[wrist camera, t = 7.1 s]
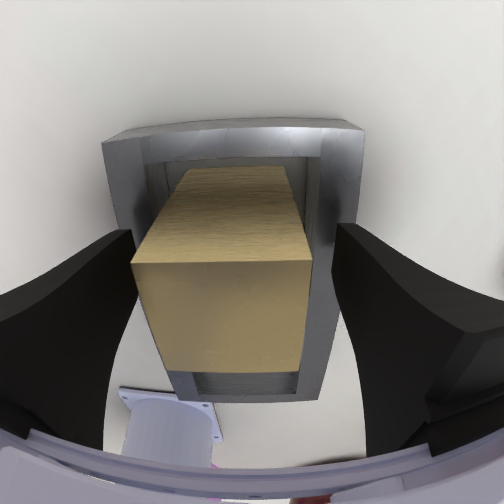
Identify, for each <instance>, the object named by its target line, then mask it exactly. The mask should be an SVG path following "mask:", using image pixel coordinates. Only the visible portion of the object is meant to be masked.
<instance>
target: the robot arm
mask: <svg viewBox="0 0 504 504" xmlns="http://www.w3.org/2000/svg"><path fill="white" fill-rule="evenodd" d="M136 252H137V250H136V246H135V242H134V238H133V234H132V230H131V229H122V230H115V231H113V232H111V233H109V234H107V235H105V236H103V237H102V238H100V239H98V240H97V241H95V242H94V243H92V244H90V245H89V246H87V247H86V248H84V249H83V250H81V251H80V252H78V253H77V254H75V255H73V256H72V257H70V258H69V259H67V260H66V261H64V262H62V263H61V264H59V265H58V266H56V267H55V268H53V269H51V270H50V271H48V272H46V273H44V274H43V275H41V276H39V277H37V278H35V279H33V280H32V281H30V282H28V283H26V284H24V285H22V286H19V287H17V288H15V289H13V290H11V291H9V292H7V293H4V294H2V295H0V504H248V503H236V502H222V501H212V500H206V498H216V499H240V500H242V499H243V500H262V499H263V500H264V499H287V498H301V497H311V496H320V495H328V494H333V495H332V496H331V497H330V500H331V502H330V503H328V504H501V503H502V502H504V301H502V300H498V299H495V298H492V297H489V296H486V295H483V294H480V293H478V292H475V291H473V290H470V289H467V288H465V287H463V286H461V285H458V284H456V283H454V282H451V281H449V280H447V279H445V278H443V277H441V276H439V275H437V274H435V273H433V272H431V271H430V270H428V269H426V268H424V267H422V266H420V265H419V264H417V263H415V262H414V261H412V260H411V259H409V258H407V257H406V256H404V255H402V254H401V253H399V252H398V251H396V250H395V249H393V248H392V247H390V246H389V245H387V244H386V243H384V242H383V241H382V240H380V239H379V238H377V237H376V236H374V235H373V234H371V233H370V232H368V231H367V230H365V229H364V228H362V227H361V226H359V225H357V224H355V223H337V229H336V237H335V245H334V253H333V260H332V268H331V275H332V280H333V286H334V290H335V295H336V298H337V301H338V304H339V307H340V310H341V313H342V316H343V319H344V322H345V324H346V327H347V330H348V333H349V336H350V339H351V342H352V346H353V349H354V353H355V357H356V362H357V368H358V373H359V379H360V385H361V392H362V400H363V409H364V419H365V431H366V458H363V459H358V460H352V461H346V462H339V463H332V464H324V465H315V466H305V467H292V468H273V469H227V468H211V459H212V446H213V442H222V441H223V437H222V434H221V430H220V427H219V424H218V421H217V417H216V414H215V410H214V407H213V403H212V402H192V401H179V400H178V398H177V395H176V394H170V393H159V392H149V391H140V390H132V389H125V388H119V389H118V392H117V393H118V395H119V396H120V398H121V399H122V400H123V402H124V403H125V405H126V406H127V407H128V409H129V410H130V412H131V416H130V420H129V424H128V428H127V432H126V436H125V440H124V445H123V449H122V453H121V455H117V454H113V453H108V452H104V451H103V430H104V417H105V407H106V399H107V393H108V387H109V381H110V376H111V372H112V367H113V363H114V359H115V355H116V352H117V349H118V346H119V343H120V341H121V338H122V335H123V333H124V330H125V328H126V325H127V323H128V321H129V318H130V316H131V313H132V311H133V308H134V306H135V303H136V301H137V298H138V295H139V291H138V288H137V285H136V281H135V278H134V275H133V271H132V268H131V264H130V262H131V261H132V259H133V257H134V255H135V254H136ZM82 473H83V474H82ZM85 474H86V475H85ZM87 475H90V476H93V477H96V478H100V479H103V480H107V481H111V482H114V483H115V484H112V483H108V482H105V481H101V480H98V479H94V478H91V477H89V476H87Z"/></svg>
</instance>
